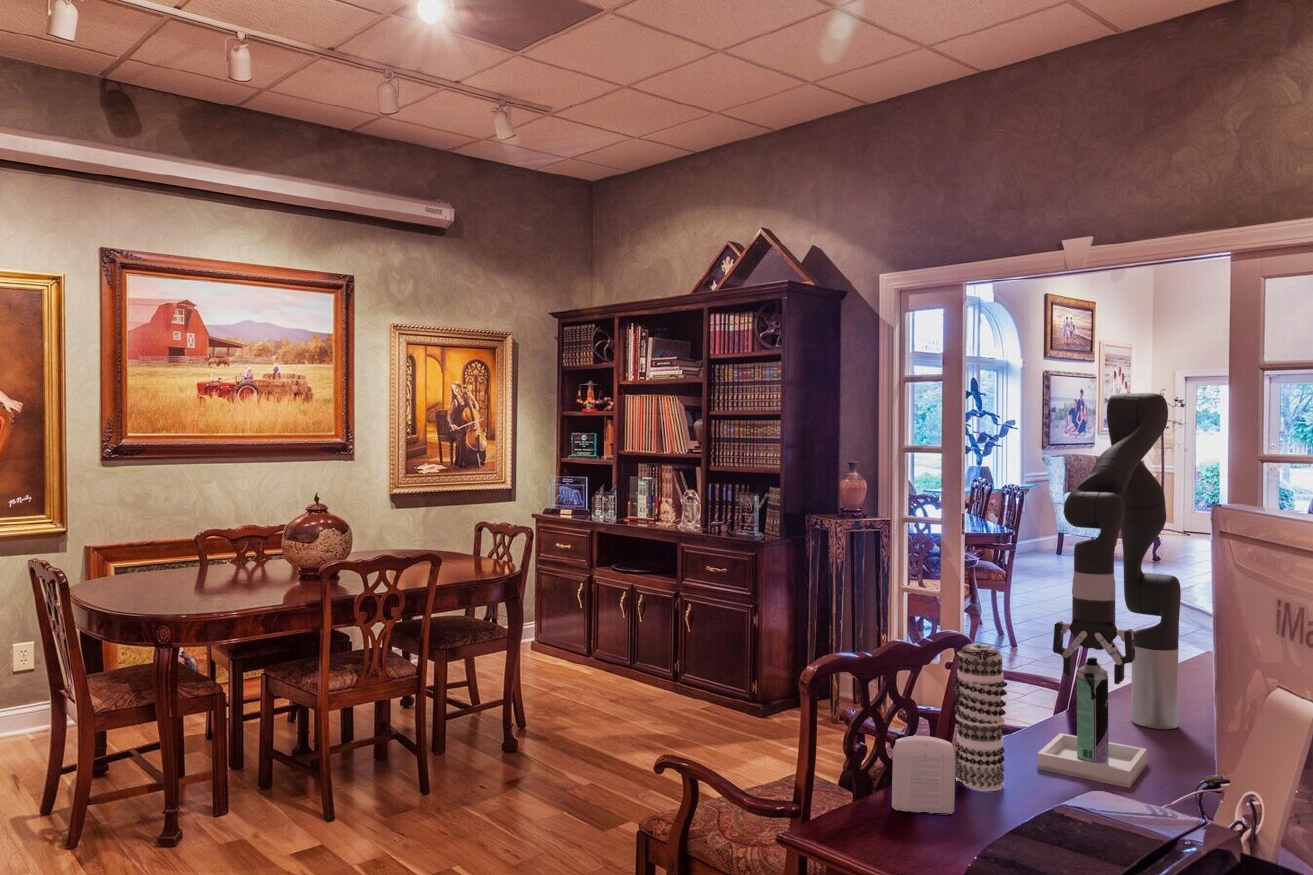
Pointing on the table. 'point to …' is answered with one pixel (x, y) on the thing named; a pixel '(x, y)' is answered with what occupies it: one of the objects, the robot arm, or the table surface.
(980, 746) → the decorative candle
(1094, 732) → the spray can
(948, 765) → the white rounded block
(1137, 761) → the tray
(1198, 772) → the table surface
